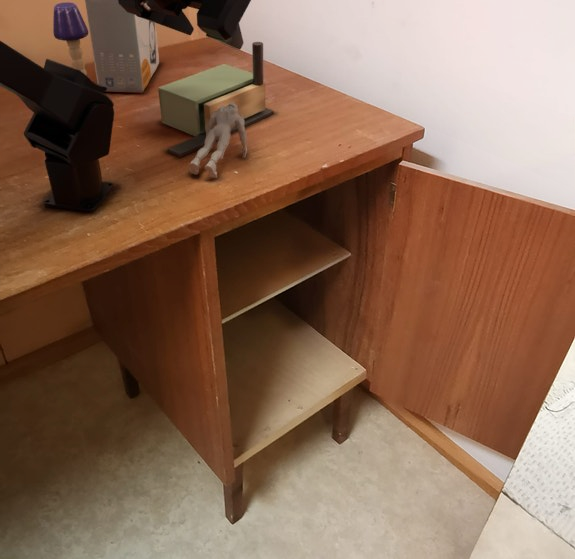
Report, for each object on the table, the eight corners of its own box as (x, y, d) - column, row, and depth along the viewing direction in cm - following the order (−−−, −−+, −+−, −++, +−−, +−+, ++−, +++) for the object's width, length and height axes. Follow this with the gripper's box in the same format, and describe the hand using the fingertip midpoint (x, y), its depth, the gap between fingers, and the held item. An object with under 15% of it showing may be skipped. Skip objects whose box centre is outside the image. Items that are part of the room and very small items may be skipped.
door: (212, 134, 88) (208, 63, 82) (204, 131, 89) (199, 60, 82) (266, 109, 95) (266, 43, 89) (258, 107, 96) (258, 40, 90)
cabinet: (180, 157, 84) (176, 119, 80) (130, 135, 89) (125, 99, 86) (273, 113, 96) (274, 79, 93) (225, 96, 101) (224, 63, 98)
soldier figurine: (229, 193, 81) (259, 130, 87) (222, 166, 76) (254, 101, 82) (186, 185, 83) (218, 123, 88) (176, 157, 78) (211, 94, 84)
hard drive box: (144, 94, 101) (127, -39, 89) (98, 93, 101) (75, -40, 89) (160, 63, 113) (148, -58, 101) (119, 61, 113) (102, -59, 101)
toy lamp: (95, 129, 90) (73, 10, 80) (66, 126, 91) (40, 7, 81) (109, 116, 94) (90, 1, 84) (81, 113, 95) (58, -2, 84)
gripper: (239, -96, 65) (297, -1, 78) (124, -112, 74) (194, -24, 87) (190, -5, 64) (257, 75, 78) (80, -32, 73) (158, 44, 87)
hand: (215, 39), depth 83 cm, fingers open, 9 cm apart
